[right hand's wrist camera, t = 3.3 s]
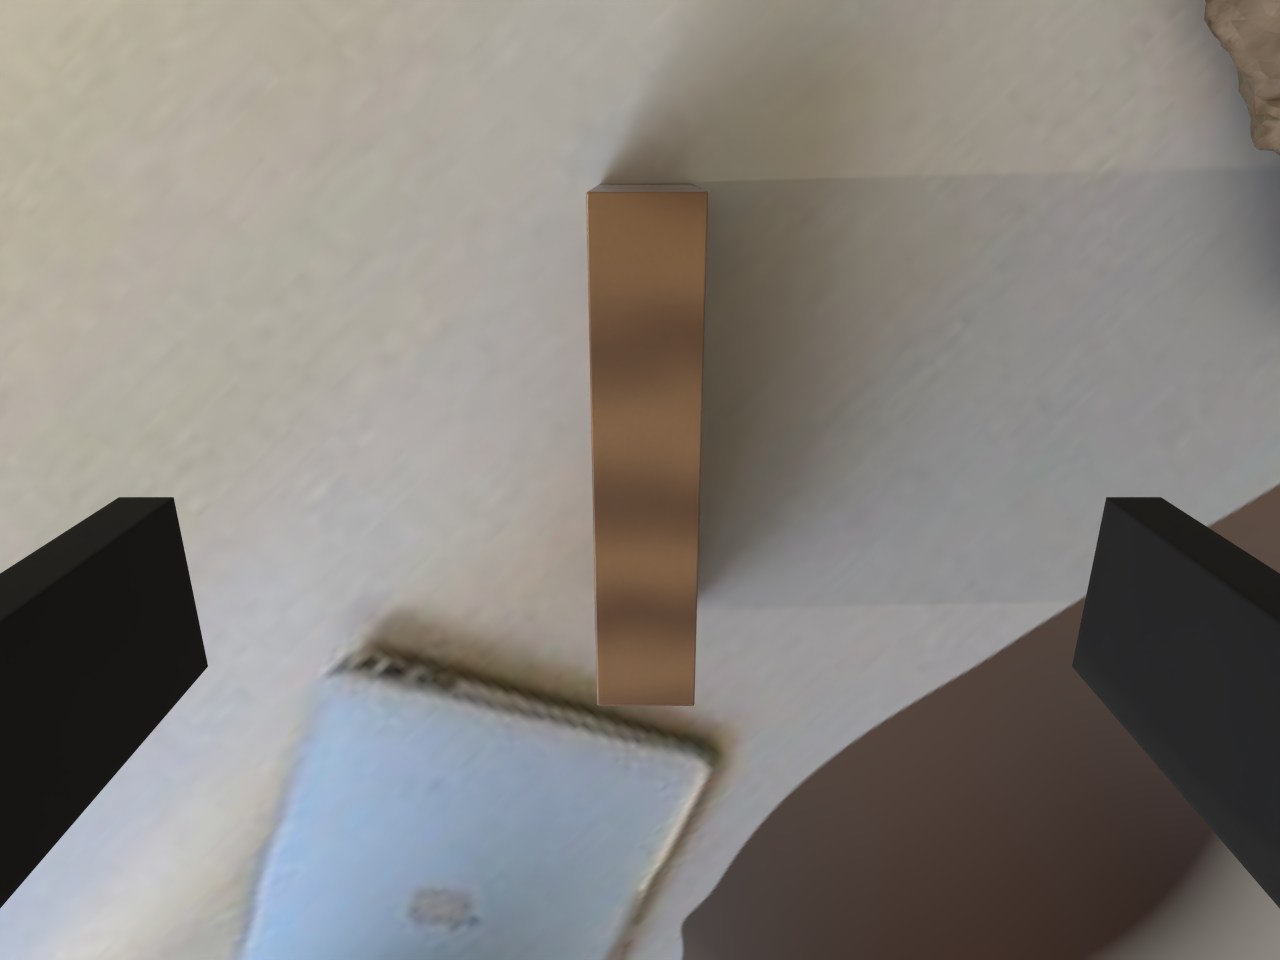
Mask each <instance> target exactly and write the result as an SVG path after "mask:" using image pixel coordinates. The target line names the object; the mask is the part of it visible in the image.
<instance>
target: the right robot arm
mask: <svg viewBox="0 0 1280 960" xmlns="http://www.w3.org/2000/svg"><path fill="white" fill-rule="evenodd" d="M207 667H208V664H207V659H206V654H205V650H204V645H203V640H202V635H201V630H200V625H199V620H198V615H197V610H196V605H195V600H194V596H193V591H192V586H191V581H190V576H189V571H188V566H187V561H186V556H185V551H184V546H183V542H182V537H181V532H180V527H179V522H178V517H177V512H176V507H175V502H174V497H119V498H117V499H116V500H114V501H113V502H111V503H110V504H108V505H106V506H105V507H103V508H102V509H100V510H99V511H97V512H96V513H94V514H92V515H91V516H89V517H88V518H86V519H85V520H83V521H82V522H80V523H78V524H77V525H75V526H74V527H72V528H71V529H69V530H68V531H66V532H64V533H63V534H61V535H60V536H58V537H57V538H55V539H54V540H52V541H50V542H49V543H47V544H46V545H44V546H43V547H41V548H40V549H38V550H36V551H35V552H33V553H32V554H30V555H29V556H27V557H25V558H24V559H22V560H21V561H19V562H18V563H16V564H15V565H13V566H11V567H10V568H8V569H7V570H5V571H4V572H2V573H1V574H0V908H1V907H2V906H3V904H4V903H5V902H6V901H7V900H8V899H9V897H10V896H11V895H12V894H13V893H14V892H15V891H16V889H17V888H18V887H19V886H20V885H21V884H22V882H23V881H24V880H25V879H26V878H27V877H28V875H29V874H30V873H31V872H32V871H33V870H34V868H35V867H36V866H37V865H38V864H39V863H40V861H41V860H42V859H43V858H44V857H45V856H46V854H47V853H48V852H49V851H50V850H51V849H52V847H53V846H54V845H55V844H56V843H57V842H58V840H59V839H60V838H61V837H62V836H63V835H64V833H65V832H66V831H67V830H68V829H69V828H70V826H71V825H72V824H73V823H74V822H75V821H76V819H77V818H78V817H79V816H80V815H81V814H82V812H83V811H84V810H85V809H86V808H87V807H88V805H89V804H90V803H91V802H92V801H93V800H94V798H95V797H96V796H97V795H98V794H99V793H100V791H101V790H102V789H103V788H104V787H105V786H106V784H107V783H108V782H109V781H110V780H111V779H112V778H113V776H114V775H115V774H116V773H117V772H118V771H119V769H120V768H121V767H122V766H123V765H124V764H125V762H126V761H127V760H128V759H129V758H130V757H131V755H132V754H133V753H134V752H135V751H136V750H137V748H138V747H139V746H140V745H141V744H142V743H143V741H144V740H145V739H146V738H147V737H148V736H149V734H150V733H151V732H152V731H153V730H154V729H155V727H156V726H157V725H158V724H159V723H160V722H161V720H162V719H163V718H164V717H165V716H166V715H167V713H168V712H169V711H170V710H171V709H172V708H173V706H174V705H175V704H176V703H177V702H178V701H179V699H180V698H181V697H182V696H183V695H184V694H185V692H186V691H187V690H188V689H189V688H190V687H191V685H192V684H193V683H194V682H195V681H196V680H197V678H198V677H199V676H200V675H201V674H202V673H203V671H204V670H205V669H206V668H207ZM1072 667H1073V668H1074V669H1075V670H1076V672H1077V673H1078V674H1079V675H1080V676H1081V677H1082V678H1083V680H1084V681H1085V682H1086V683H1087V684H1088V685H1089V687H1090V688H1091V689H1092V690H1093V691H1094V692H1095V694H1096V695H1097V696H1098V697H1099V698H1100V699H1101V701H1102V702H1103V703H1104V704H1105V705H1106V706H1107V708H1108V709H1109V710H1110V711H1111V712H1112V713H1113V715H1114V716H1115V717H1116V718H1117V719H1118V720H1119V722H1120V723H1121V724H1122V725H1123V726H1124V727H1125V729H1126V730H1127V731H1128V732H1129V733H1130V734H1131V736H1132V737H1133V738H1134V739H1135V740H1136V741H1137V743H1138V744H1139V745H1140V746H1141V747H1142V748H1143V750H1144V751H1145V752H1146V753H1147V754H1148V755H1149V757H1150V758H1151V759H1152V760H1153V761H1154V762H1155V763H1156V765H1157V766H1158V767H1159V768H1160V769H1161V771H1162V772H1163V773H1164V774H1165V775H1166V776H1167V777H1168V779H1169V780H1170V781H1171V782H1172V783H1173V784H1174V786H1175V787H1176V788H1177V789H1178V790H1179V791H1180V793H1181V794H1182V795H1183V796H1184V797H1185V798H1186V800H1187V801H1188V802H1189V803H1190V804H1191V805H1192V807H1193V808H1194V809H1195V810H1196V811H1197V812H1198V814H1199V815H1200V816H1201V817H1202V818H1203V819H1204V821H1205V822H1206V823H1207V824H1208V825H1209V826H1210V828H1211V829H1212V830H1213V831H1214V832H1215V833H1216V835H1217V836H1218V837H1219V838H1220V839H1221V840H1222V842H1223V843H1224V844H1225V845H1226V846H1227V847H1228V849H1229V850H1230V851H1231V852H1232V853H1233V854H1234V856H1235V857H1236V858H1237V859H1238V860H1239V861H1240V862H1241V864H1242V865H1243V866H1244V867H1245V868H1246V870H1247V871H1248V872H1249V873H1250V874H1251V875H1252V877H1253V878H1254V879H1255V880H1256V881H1257V882H1258V883H1259V885H1260V886H1261V887H1262V888H1263V889H1264V891H1265V892H1266V893H1267V894H1268V895H1269V896H1270V897H1271V899H1272V900H1273V901H1274V902H1275V903H1276V904H1277V906H1278V907H1279V908H1280V574H1279V573H1278V572H1276V571H1275V570H1273V569H1272V568H1270V567H1269V566H1267V565H1265V564H1264V563H1262V562H1261V561H1259V560H1258V559H1256V558H1255V557H1253V556H1251V555H1250V554H1248V553H1247V552H1245V551H1244V550H1242V549H1240V548H1239V547H1237V546H1236V545H1234V544H1233V543H1231V542H1230V541H1228V540H1226V539H1225V538H1223V537H1222V536H1220V535H1219V534H1217V533H1216V532H1214V531H1212V530H1211V529H1209V528H1208V527H1206V526H1205V525H1203V524H1202V523H1200V522H1198V521H1197V520H1195V519H1194V518H1192V517H1191V516H1189V515H1188V514H1186V513H1184V512H1183V511H1181V510H1180V509H1178V508H1177V507H1175V506H1174V505H1172V504H1170V503H1169V502H1167V501H1166V500H1164V499H1163V498H1161V497H1106V502H1105V507H1104V512H1103V517H1102V522H1101V527H1100V532H1099V537H1098V542H1097V546H1096V551H1095V556H1094V561H1093V566H1092V571H1091V576H1090V581H1089V586H1088V591H1087V596H1086V600H1085V605H1084V610H1083V615H1082V620H1081V625H1080V630H1079V635H1078V640H1077V645H1076V650H1075V655H1074V659H1073V664H1072Z"/></svg>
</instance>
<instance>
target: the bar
mask: <svg viewBox="0 0 1280 960" xmlns="http://www.w3.org/2000/svg"><path fill="white" fill-rule="evenodd" d="M586 195H587V243H588V290H589V338H590V386H591V433H592V481H593V529H594V576H595V624H596V671H597V704H598V705H599V706H693V705H694V695H695V657H696V619H697V582H698V544H699V507H700V469H701V431H702V394H703V356H704V319H705V281H706V243H707V206H708V193H707V192H706V191H704V190H702V189H701V188H699V187H697V186H695V185H693V184H600V185H598V186H596V187H595V188H593V189H591V190H590V191H588V192H587V194H586Z"/></svg>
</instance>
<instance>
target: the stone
mask: <svg viewBox="0 0 1280 960" xmlns="http://www.w3.org/2000/svg"><path fill="white" fill-rule="evenodd" d="M1204 20H1205V22H1206V23H1207V25H1208V26H1209V28H1210V30H1211V31H1212V33H1213V34H1214V36H1215V37H1216V38H1218V39H1219V40H1220V41H1221V45H1222V47H1223V48H1224V49H1226V50H1227V51H1228V52H1229V53H1230V55H1231V57H1232V59H1233V60H1234V62H1235V64H1236V66H1237V68H1238V74H1239V92H1240V93H1241V95H1242V97H1243V98H1244V100H1245V101H1246V104H1247V107H1248V110H1249V113H1250V116H1251V137H1252V140H1253V142H1254V145H1255V147H1256V148H1258V149H1259V150H1274V151H1275V152H1277V153H1278V154H1279V155H1280V0H1206V9H1205V17H1204Z"/></svg>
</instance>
